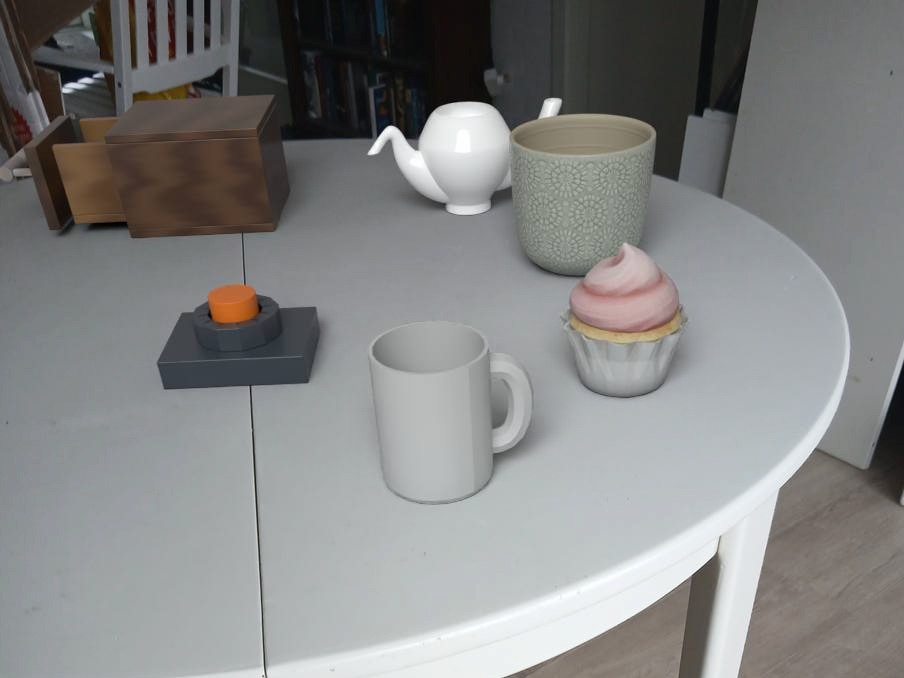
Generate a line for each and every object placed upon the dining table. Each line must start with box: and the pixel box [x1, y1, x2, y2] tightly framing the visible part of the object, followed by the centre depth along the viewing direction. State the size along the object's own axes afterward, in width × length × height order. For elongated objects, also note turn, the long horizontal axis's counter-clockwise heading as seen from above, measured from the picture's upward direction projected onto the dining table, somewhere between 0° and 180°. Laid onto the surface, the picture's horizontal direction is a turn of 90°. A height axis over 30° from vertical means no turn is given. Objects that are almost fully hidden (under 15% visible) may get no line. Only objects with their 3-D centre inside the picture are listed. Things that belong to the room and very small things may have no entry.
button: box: [207, 284, 259, 323], centre depth 75 cm, size 4×4×2 cm
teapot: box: [366, 97, 563, 216], centre depth 99 cm, size 10×20×9 cm, turn 105°
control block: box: [156, 293, 321, 390], centre depth 77 cm, size 11×9×4 cm
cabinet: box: [104, 94, 291, 239], centre depth 101 cm, size 15×13×10 cm
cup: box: [367, 320, 534, 505], centre depth 61 cm, size 7×10×9 cm
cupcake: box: [558, 243, 692, 398], centre depth 70 cm, size 9×9×10 cm
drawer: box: [0, 114, 127, 231], centre depth 101 cm, size 18×11×8 cm, turn 91°
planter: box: [509, 113, 657, 277], centre depth 87 cm, size 12×12×11 cm
